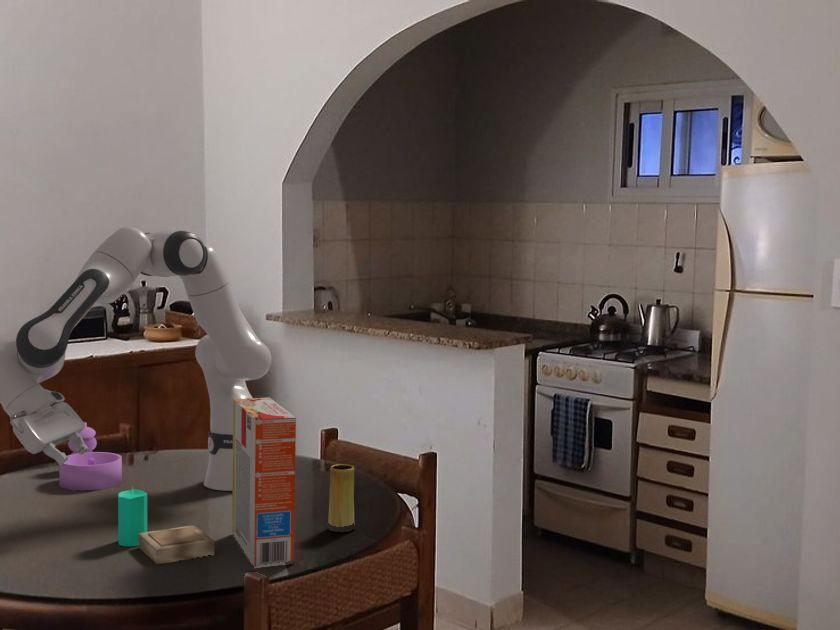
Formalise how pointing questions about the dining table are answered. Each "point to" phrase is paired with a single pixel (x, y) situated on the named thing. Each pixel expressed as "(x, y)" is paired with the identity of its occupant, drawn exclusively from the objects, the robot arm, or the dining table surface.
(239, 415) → the cereal box
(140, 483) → the dining table surface
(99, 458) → the container set
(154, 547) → the base block
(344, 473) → the vase
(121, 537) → the candle
